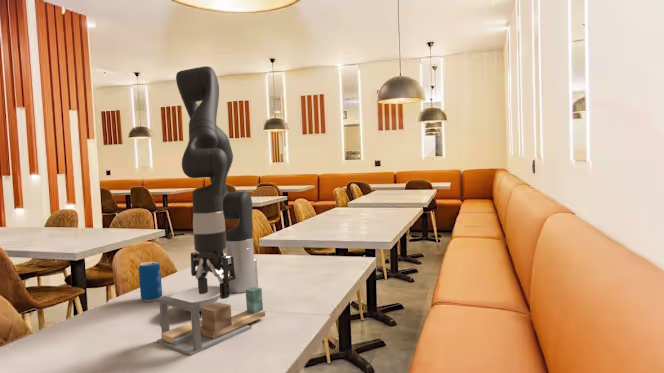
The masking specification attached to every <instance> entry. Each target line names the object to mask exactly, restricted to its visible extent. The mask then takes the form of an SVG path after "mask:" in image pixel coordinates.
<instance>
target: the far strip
mask: <svg viewBox="0 0 664 373" xmlns="http://www.w3.org/2000/svg"><path fill="white" fill-rule="evenodd" d="M202 328H203V327H202V325H200V329H202ZM190 333H192V322H187V323H185V324H183V325H180V326H177V327H174V328H172V329H169V331H167V332H164V333H162V332H161V334H160V335H161V338H162V340H164V341H167V342H170V343H174V342H173V340H175V339H178V338H180V337H183V336H185V335H188V334H190Z"/></svg>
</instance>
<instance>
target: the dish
mask: <svg viewBox="0 0 664 373" xmlns="http://www.w3.org/2000/svg"><path fill="white" fill-rule="evenodd" d="M170 297H171V298H175V299H179V300H183V301H187V302H191V303H195V304H199V305H200V309H199V312H201V308H202V307H205V306H208V305H211V304H214V303H216V302H218V300H219V299H220V285H214V284H213V285H211V284H210V285H208V292H207V293H205V294H199V290H198V286H196V287H192V288H191V287H190V288H187V289H184V290H180V291H179V292H177V293H175V294H172V295H170ZM179 309H180V310H182V311H188V310H184V309H181V308H179ZM188 312H189V311H188Z"/></svg>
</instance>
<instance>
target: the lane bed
mask: <svg viewBox="0 0 664 373" xmlns="http://www.w3.org/2000/svg"><path fill="white" fill-rule="evenodd" d="M157 301H158V303H159V314H160V326H161V333H164V332H167V331H169V330H170V319H169V307H168V306H170V307H174V308H177V309H180V308H181V309H180V310H182V309H184V310H183V311H186V310H188V312H190V321H191V322H192V333H190V334H188V335H185V336H183V337H180V338H178V339H175V340H173V342H174V343H170V342H167V341H164V340H162V337H161V338H159V339H156V344H160V345H162V346H164V347H168V348H170V349H173V350H175V351H177V352H180V353H183V354H186V355H188V356H194V355H195V354H198V353H200V352H202V351H205V350H206V349H209V348H210V347H213V346H215V345H217V344H219V343H222V342H224V341H227V340H228V339H231V338H233V337H235V336H237V335H240V334H242V333H244V332H246V331H249V330H251V329H252V325H249V324H246V325H244V326H241V327H239V328H237V329H234V330H232V331H230V332H227V333H225V334H223V335H220V336H218V337H216V338H210V337H207V336H204V335H202V331H201V329H200V319H201V318H200V317H201V316H200V311H199V309H200V305H199V304H195V303H191V302H187V301H183V300H179V299H175V298H171V296H167V295H164V296H162V297H160V298H158V300H157Z"/></svg>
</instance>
